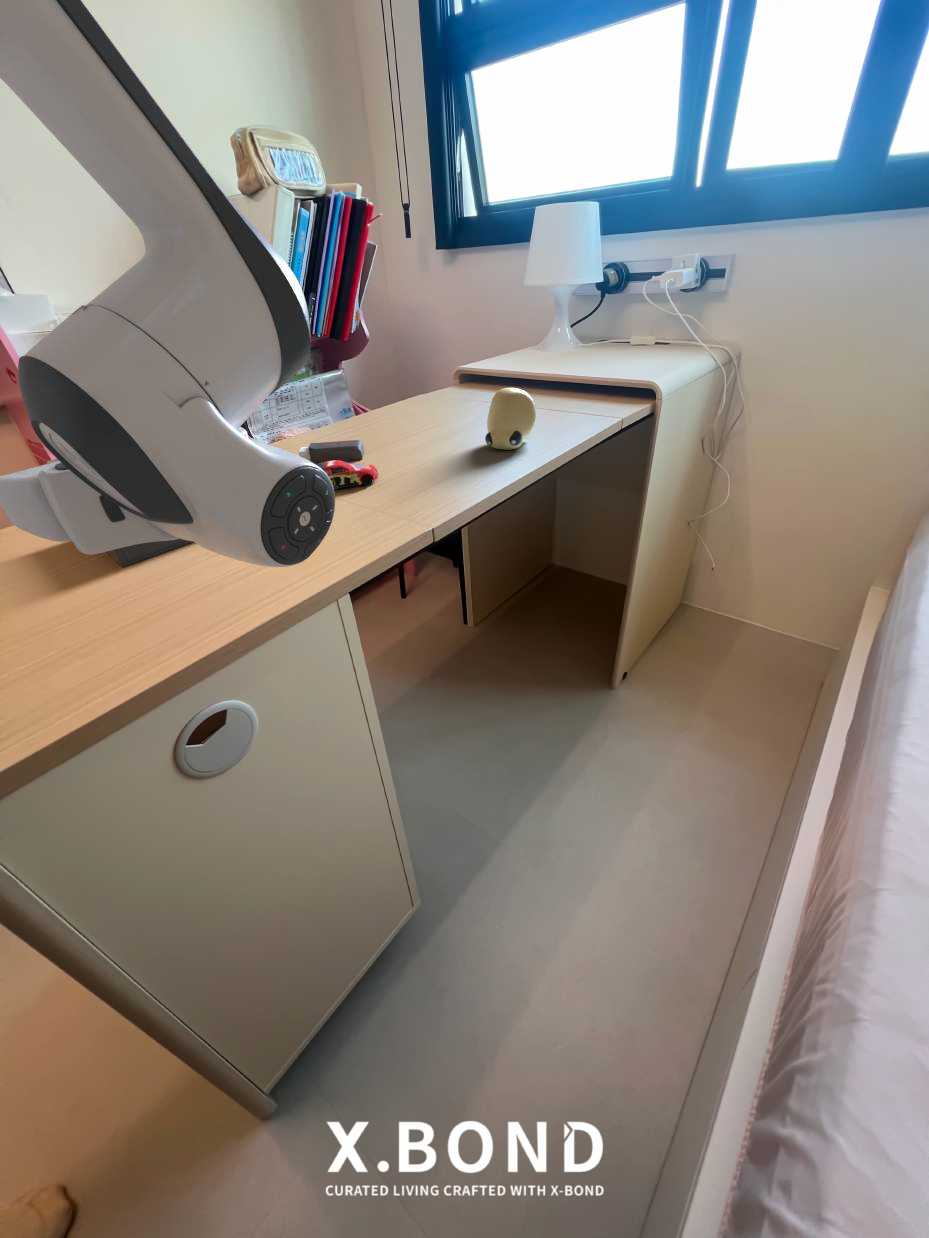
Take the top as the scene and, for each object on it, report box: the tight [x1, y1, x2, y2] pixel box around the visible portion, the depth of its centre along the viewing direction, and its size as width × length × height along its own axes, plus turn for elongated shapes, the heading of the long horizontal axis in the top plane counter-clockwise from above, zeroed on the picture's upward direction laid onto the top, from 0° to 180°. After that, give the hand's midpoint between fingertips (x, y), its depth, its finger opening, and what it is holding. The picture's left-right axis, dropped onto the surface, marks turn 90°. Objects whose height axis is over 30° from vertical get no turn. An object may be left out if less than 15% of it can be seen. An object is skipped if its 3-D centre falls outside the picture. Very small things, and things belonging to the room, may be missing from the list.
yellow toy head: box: [484, 387, 537, 451], centre depth 99 cm, size 10×12×11 cm
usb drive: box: [298, 439, 365, 464], centre depth 99 cm, size 5×12×3 cm, turn 95°
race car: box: [315, 460, 379, 490], centre depth 86 cm, size 13×5×4 cm, turn 109°
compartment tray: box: [106, 538, 195, 568], centre depth 74 cm, size 15×15×4 cm
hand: (99, 457), depth 49 cm, fingers closed on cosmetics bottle, 6 cm apart
